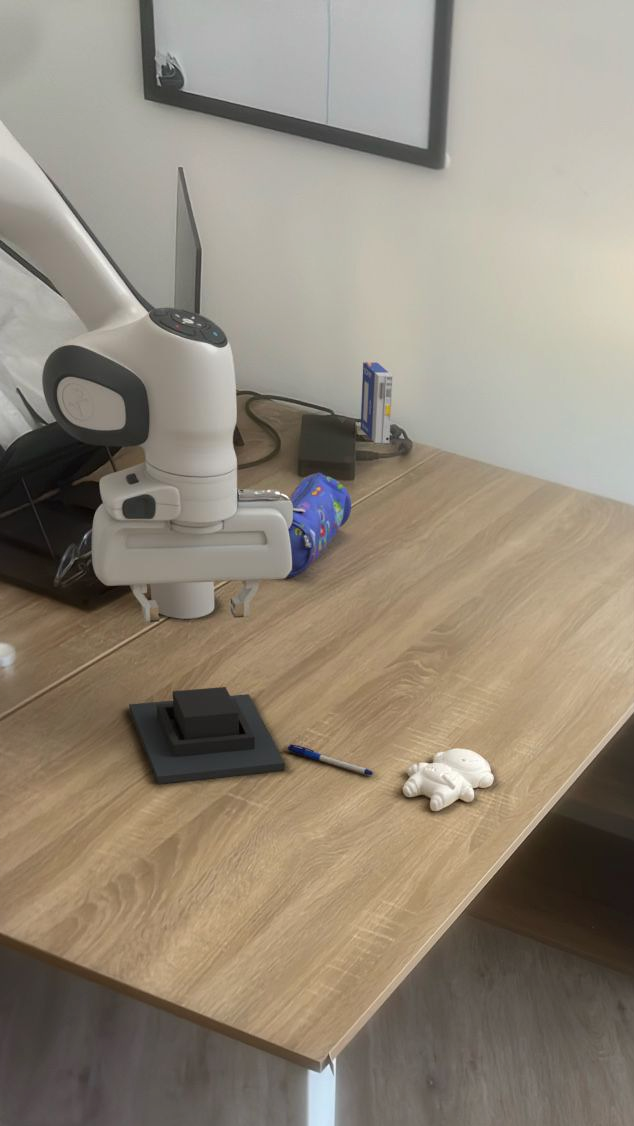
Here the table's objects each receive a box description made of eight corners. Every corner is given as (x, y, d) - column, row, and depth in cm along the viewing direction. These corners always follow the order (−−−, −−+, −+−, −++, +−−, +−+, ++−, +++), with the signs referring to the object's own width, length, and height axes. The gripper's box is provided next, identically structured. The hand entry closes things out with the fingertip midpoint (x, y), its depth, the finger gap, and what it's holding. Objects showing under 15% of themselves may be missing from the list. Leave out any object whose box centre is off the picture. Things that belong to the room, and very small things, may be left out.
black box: (185, 748, 142) (184, 717, 139) (174, 722, 146) (172, 690, 143) (239, 743, 144) (238, 712, 142) (226, 717, 148) (225, 686, 146)
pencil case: (310, 587, 181) (311, 521, 174) (251, 575, 181) (250, 509, 175) (352, 532, 198) (354, 470, 192) (298, 522, 198) (299, 460, 192)
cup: (196, 588, 175) (193, 502, 168) (225, 612, 171) (223, 524, 163) (141, 597, 171) (135, 509, 163) (169, 622, 166) (164, 533, 159)
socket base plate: (157, 784, 137) (156, 763, 136) (129, 711, 148) (128, 691, 146) (284, 770, 143) (285, 750, 141) (248, 701, 154) (248, 681, 152)
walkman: (360, 428, 236) (363, 360, 228) (374, 428, 237) (377, 360, 229) (375, 443, 231) (378, 374, 223) (389, 443, 232) (393, 374, 224)
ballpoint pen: (286, 752, 146) (286, 745, 145) (289, 749, 146) (289, 741, 146) (370, 777, 144) (371, 769, 143) (373, 773, 145) (374, 766, 144)
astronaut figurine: (384, 786, 143) (385, 763, 141) (453, 751, 151) (455, 729, 149) (442, 819, 140) (445, 796, 138) (510, 781, 148) (513, 759, 146)
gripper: (285, 477, 134) (282, 600, 143) (82, 478, 126) (93, 609, 135) (301, 500, 130) (298, 625, 139) (93, 503, 122) (103, 636, 131)
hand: (195, 617), depth 137 cm, fingers open, 8 cm apart
